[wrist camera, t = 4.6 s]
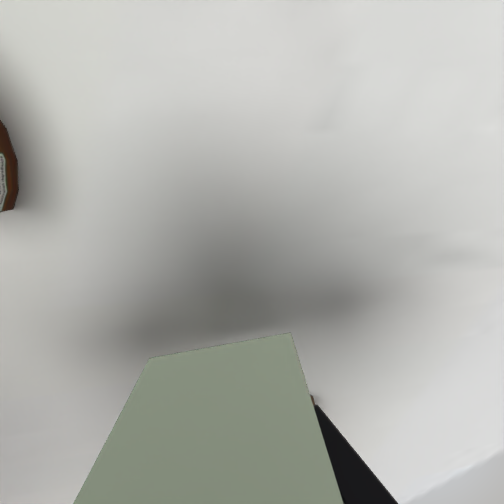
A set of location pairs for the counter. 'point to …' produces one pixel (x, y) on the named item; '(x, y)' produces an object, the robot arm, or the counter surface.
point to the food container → (7, 172)
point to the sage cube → (217, 432)
